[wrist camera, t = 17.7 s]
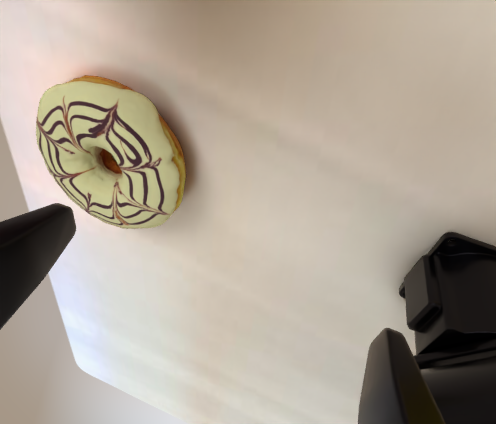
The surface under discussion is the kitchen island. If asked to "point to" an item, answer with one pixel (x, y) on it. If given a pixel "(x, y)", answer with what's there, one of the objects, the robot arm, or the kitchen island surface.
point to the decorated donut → (111, 152)
